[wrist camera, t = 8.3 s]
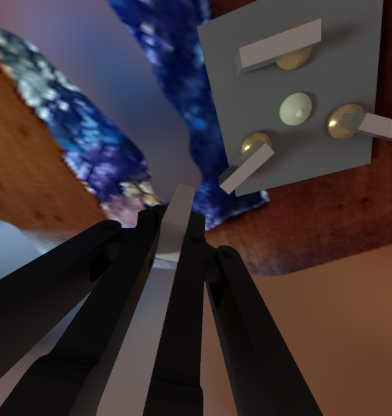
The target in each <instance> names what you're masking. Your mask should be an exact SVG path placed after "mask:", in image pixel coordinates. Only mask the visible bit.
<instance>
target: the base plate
mask: <svg viewBox="0 0 392 416" xmlns="http://www.w3.org/2000/svg"><path fill="white" fill-rule="evenodd" d="M382 10H383V0H257V1H255V2H253V3H250V4H248V5H246V6H243V7H241V8H239V9H236V10H234V11H232V12H230V13H227V14H225V15H223V16H220V17H218V18H216V19H214V20H211V21H209V22H207V23H204V24H202V25H200V26H197V30H198V35H199V39H200V43H201V48H202V52H203V56H204V61H205V65H206V69H207V73H208V78H209V82H210V86H211V90H212V95H213V99H214V103H215V108H216V112H217V116H218V120H219V125H220V129H221V133H222V138H223V142H224V146H225V150H226V155H227V159H228V163H229V166H230V165H231V164H232V163H233V162H235V161H236V160H237V159H238V158H239V157H240V156H241V155H242V153H241V143H242V141H243V139H244V138H245V137H246V136H247V135H248V134H250V133H253V132H261V133H264V134H266V135H267V136H268V137H269V138H270V140H271V142H272V150H273V151H274V152H275V153H274V154H273V155H272V156H271V157H270V158H269V159H267V160H266V161H265V162H264V163H263V164H262V165H261V166H260V167H258V168H257V169H256V170H255V171H254V172H253V173H252V174H251V175H250V176H248V177H247V178H246V179H245V180H244V181H243V182H242V183H241V184H239V185H238V186H237V187H236V188H235V193H236V196H240V195H244V194H248V193H252V192H256V191H260V190H264V189H269V188H273V187H277V186H281V185H285V184H289V183H293V182H297V181H301V180H305V179H309V178H313V177H317V176H321V175H325V174H329V173H333V172H337V171H341V170H345V169H349V168H353V167H357V166H361V165H365V164H369V163H371V151H372V138H373V137H372V136H368V135H364V134H360V133H355V134H354V135H353V136H351V137H349V138H346V139H337V138H332V137H330V136H329V135H328V134H327V133H326V131H325V121H326V119H327V117H328V115H329V114H330V113H331V111H332V110H334V109H335V108H336V107H338V106H341V105H345V104H357V105H359V106H361V107H362V109H363V110H364V113H370V114H374V112H375V99H376V87H377V74H378V61H379V48H380V35H381V23H382ZM320 18H321V41H320V42H319V43H317V44H316V45H314V46H313V47H312V49H311V52H310V54H309V56H308V58H307V59H306V61H305V62H304V63H303V64H302V65H300V66H299V67H297V68H295V69H294V70H291V71H281V70H279V69H278V68H276V66H275V65H274V63H273V64H270V65H267V66H264V67H261V68H258V69H255V70H252V71H250V72H247V73H244V74H241V75H238V76H237V72H236V66H235V60H234V59H235V57H236V54H237V52H238V50H239V48H241V47H244V46H247V45H249V44H252V43H255V42H258V41H260V40H263V39H266V38H268V37H271V36H274V35H277V34H279V33H281V32H282V31H283V30H284V29H285V28H287V27H288V26H290V25H292V24H296V23H300V24H303V25H304V24H306V23H309V22H312V21H315V20H317V19H320Z"/></svg>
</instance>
